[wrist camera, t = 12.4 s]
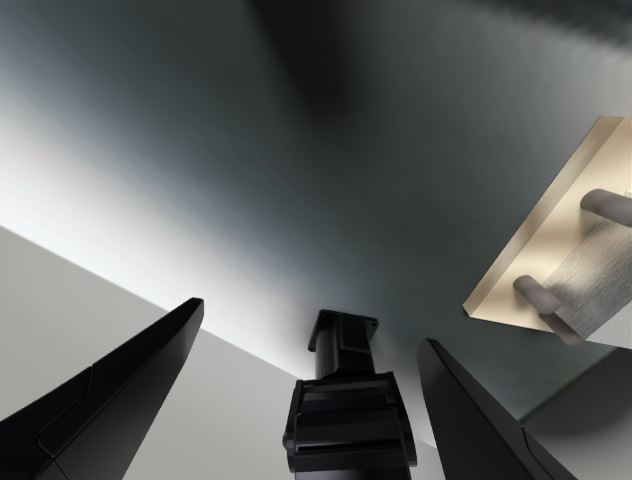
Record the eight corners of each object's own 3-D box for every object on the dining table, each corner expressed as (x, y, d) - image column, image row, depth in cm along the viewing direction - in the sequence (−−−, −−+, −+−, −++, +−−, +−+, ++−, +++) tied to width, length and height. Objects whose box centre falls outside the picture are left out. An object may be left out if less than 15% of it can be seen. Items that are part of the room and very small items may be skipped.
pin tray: (579, 328, 27) (623, 367, 23) (462, 305, 25) (488, 343, 21) (763, 164, 18) (887, 182, 14) (600, 116, 16) (687, 120, 13)
